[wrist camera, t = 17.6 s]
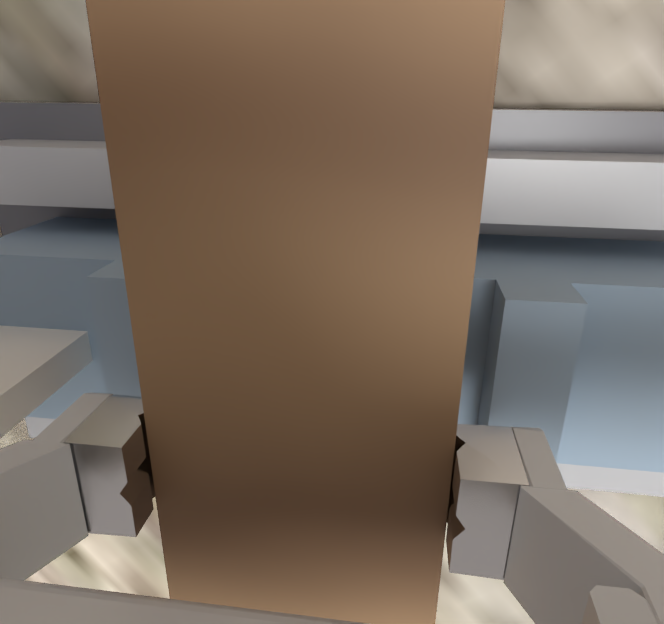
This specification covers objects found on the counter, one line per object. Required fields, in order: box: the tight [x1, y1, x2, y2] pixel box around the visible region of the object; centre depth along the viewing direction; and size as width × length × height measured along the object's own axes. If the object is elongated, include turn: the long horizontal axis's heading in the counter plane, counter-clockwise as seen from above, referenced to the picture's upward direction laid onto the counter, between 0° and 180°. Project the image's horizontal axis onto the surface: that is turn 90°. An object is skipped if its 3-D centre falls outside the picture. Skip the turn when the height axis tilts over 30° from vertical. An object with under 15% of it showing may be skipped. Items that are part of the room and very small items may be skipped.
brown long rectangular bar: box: [86, 0, 505, 624], centre depth 11 cm, size 20×5×3 cm, turn 179°
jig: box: [0, 101, 664, 497], centre depth 16 cm, size 22×11×3 cm, turn 89°
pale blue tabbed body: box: [0, 217, 664, 473], centre depth 13 cm, size 20×4×8 cm, turn 89°
